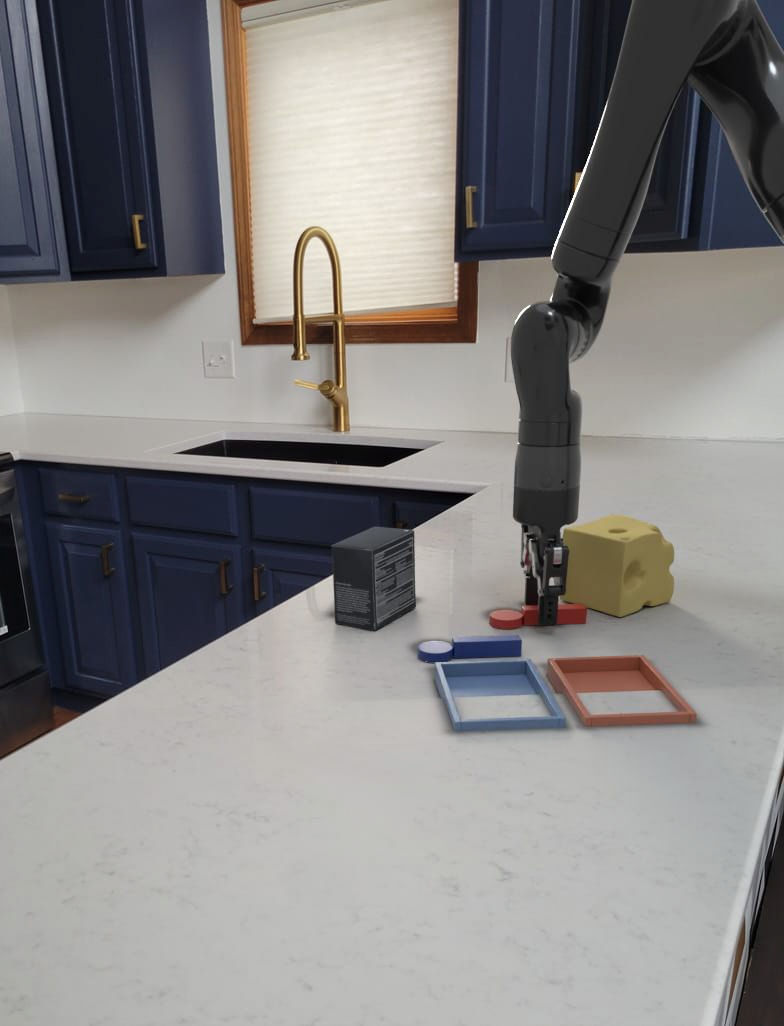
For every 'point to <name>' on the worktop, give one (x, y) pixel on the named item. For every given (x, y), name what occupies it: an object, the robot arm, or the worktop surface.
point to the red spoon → (530, 614)
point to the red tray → (615, 687)
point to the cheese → (618, 565)
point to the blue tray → (495, 691)
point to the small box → (374, 577)
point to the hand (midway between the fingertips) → (540, 614)
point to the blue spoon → (471, 648)
